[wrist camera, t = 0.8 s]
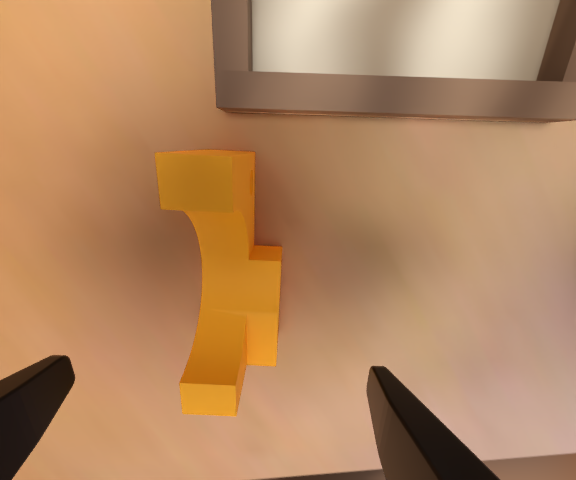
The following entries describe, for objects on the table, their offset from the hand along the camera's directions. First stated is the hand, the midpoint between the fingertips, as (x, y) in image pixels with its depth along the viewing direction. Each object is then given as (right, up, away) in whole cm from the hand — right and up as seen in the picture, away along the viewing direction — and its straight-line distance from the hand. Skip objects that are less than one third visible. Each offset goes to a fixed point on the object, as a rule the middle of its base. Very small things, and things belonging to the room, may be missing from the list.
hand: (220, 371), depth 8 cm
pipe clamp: (-1, +3, +9) cm, 10 cm away
